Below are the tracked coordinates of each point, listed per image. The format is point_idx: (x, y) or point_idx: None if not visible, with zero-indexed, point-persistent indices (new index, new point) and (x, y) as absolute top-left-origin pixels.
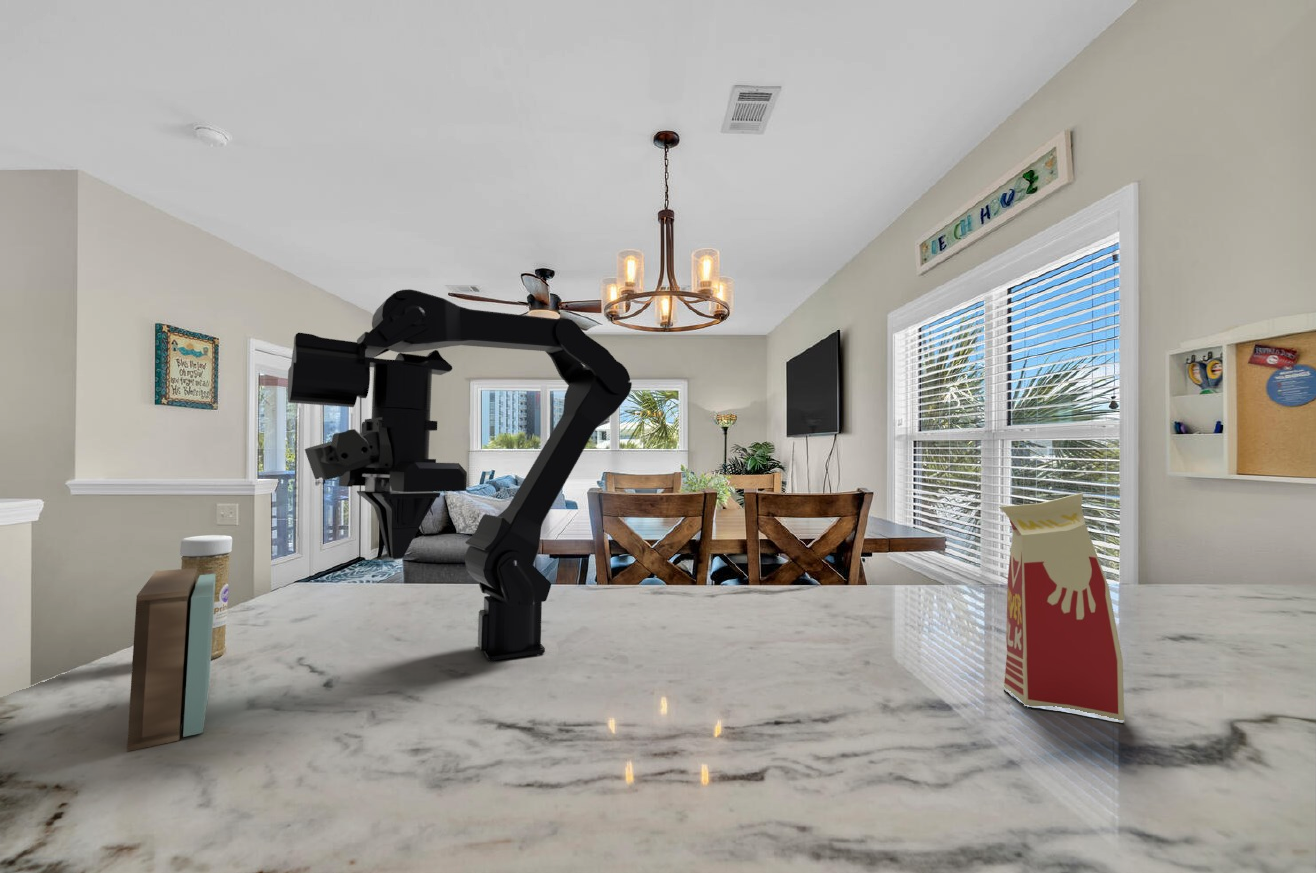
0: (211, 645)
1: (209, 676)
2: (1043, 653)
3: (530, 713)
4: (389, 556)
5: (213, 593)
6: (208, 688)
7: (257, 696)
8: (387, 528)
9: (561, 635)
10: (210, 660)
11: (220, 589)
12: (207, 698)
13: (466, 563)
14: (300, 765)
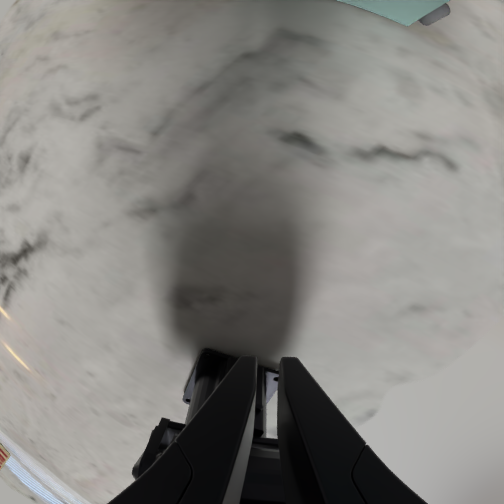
0: (431, 5)
1: (399, 13)
2: None
3: (37, 282)
4: (281, 358)
5: None
6: (377, 10)
7: (326, 51)
8: (298, 450)
9: None
10: (413, 7)
11: None
12: (352, 4)
13: (279, 469)
14: (66, 58)
